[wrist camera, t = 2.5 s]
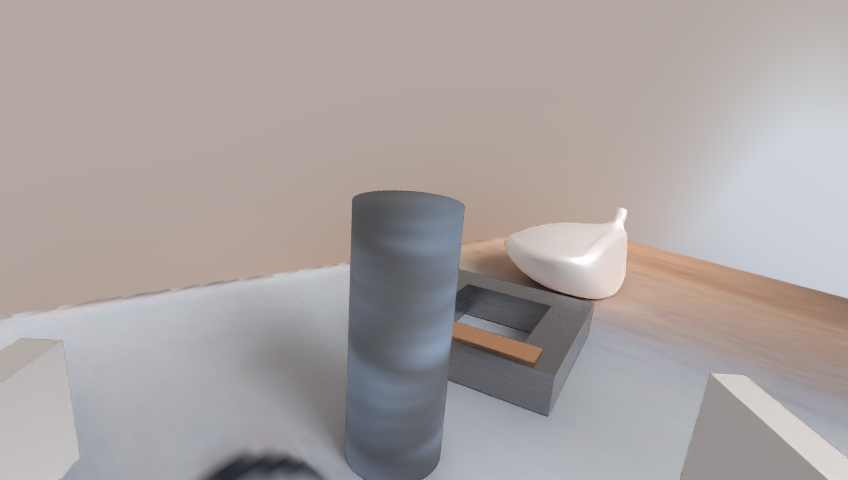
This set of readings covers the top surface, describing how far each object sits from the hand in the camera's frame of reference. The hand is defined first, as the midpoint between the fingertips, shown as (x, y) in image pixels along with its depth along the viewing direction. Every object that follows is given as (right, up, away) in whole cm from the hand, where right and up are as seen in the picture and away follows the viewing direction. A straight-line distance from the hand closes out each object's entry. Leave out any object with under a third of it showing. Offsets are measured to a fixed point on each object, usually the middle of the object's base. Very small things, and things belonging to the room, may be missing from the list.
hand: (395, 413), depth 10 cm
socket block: (+5, -4, +23) cm, 24 cm away
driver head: (+14, -1, +36) cm, 39 cm away
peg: (-1, -6, +13) cm, 14 cm away
